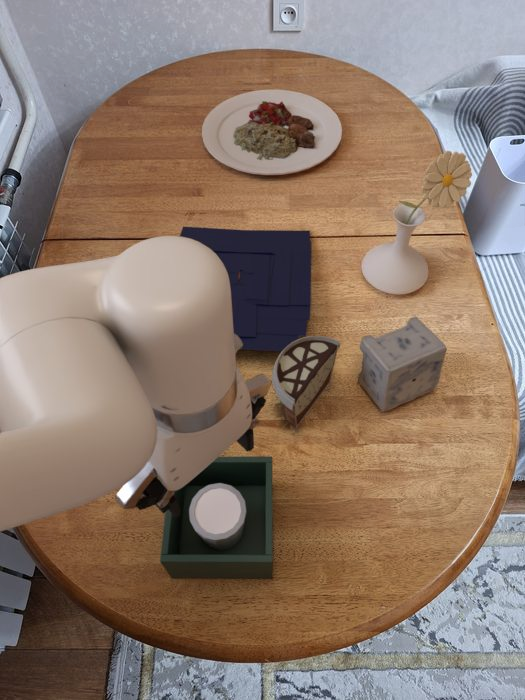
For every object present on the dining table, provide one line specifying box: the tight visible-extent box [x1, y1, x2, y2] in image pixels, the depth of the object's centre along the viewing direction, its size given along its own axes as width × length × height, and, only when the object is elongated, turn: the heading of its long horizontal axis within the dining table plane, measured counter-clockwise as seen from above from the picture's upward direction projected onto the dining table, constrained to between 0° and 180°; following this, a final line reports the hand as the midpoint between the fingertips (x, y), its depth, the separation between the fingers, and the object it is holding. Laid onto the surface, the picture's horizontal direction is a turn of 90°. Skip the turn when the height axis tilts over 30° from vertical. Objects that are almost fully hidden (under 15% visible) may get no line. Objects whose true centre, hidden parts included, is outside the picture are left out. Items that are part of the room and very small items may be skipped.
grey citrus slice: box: [271, 335, 341, 429], centre depth 79 cm, size 12×6×10 cm, turn 145°
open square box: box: [159, 456, 274, 580], centre depth 68 cm, size 13×13×8 cm
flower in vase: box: [360, 150, 473, 295], centre depth 86 cm, size 13×11×25 cm
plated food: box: [201, 89, 343, 176], centre depth 118 cm, size 30×30×3 cm
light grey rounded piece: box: [189, 483, 246, 550], centre depth 68 cm, size 7×7×7 cm
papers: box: [179, 226, 312, 352], centre depth 93 cm, size 24×30×4 cm
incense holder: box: [357, 316, 448, 413], centre depth 79 cm, size 10×8×10 cm
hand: (206, 471), depth 55 cm, fingers open, 9 cm apart
